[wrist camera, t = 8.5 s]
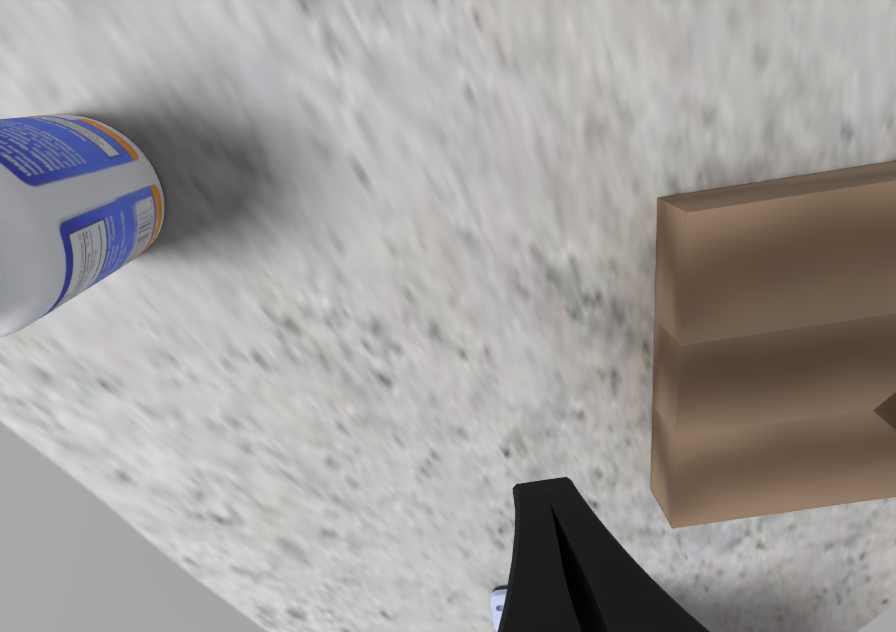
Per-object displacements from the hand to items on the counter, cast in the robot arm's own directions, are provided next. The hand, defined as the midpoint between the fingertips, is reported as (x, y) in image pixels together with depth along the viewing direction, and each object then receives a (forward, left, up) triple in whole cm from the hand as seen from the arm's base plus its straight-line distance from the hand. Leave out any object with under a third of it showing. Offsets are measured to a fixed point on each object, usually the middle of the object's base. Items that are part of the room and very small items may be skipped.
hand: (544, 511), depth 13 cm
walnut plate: (-3, -16, -10) cm, 19 cm away
